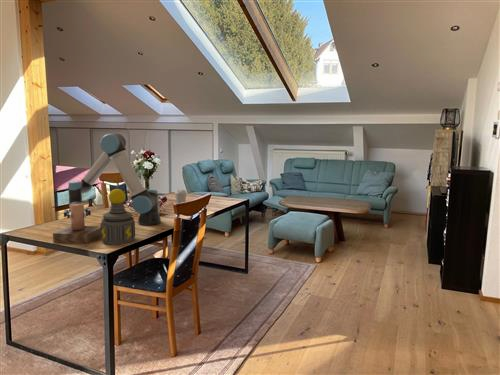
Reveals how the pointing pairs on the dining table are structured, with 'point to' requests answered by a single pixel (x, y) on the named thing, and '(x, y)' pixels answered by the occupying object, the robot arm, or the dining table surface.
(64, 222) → the dining table surface
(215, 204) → the dining table surface
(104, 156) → the robot arm
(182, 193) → the coffee cup
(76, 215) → the terracotta canister
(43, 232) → the dining table surface
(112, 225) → the decorative lamp
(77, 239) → the walnut plinth
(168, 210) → the dining table surface
